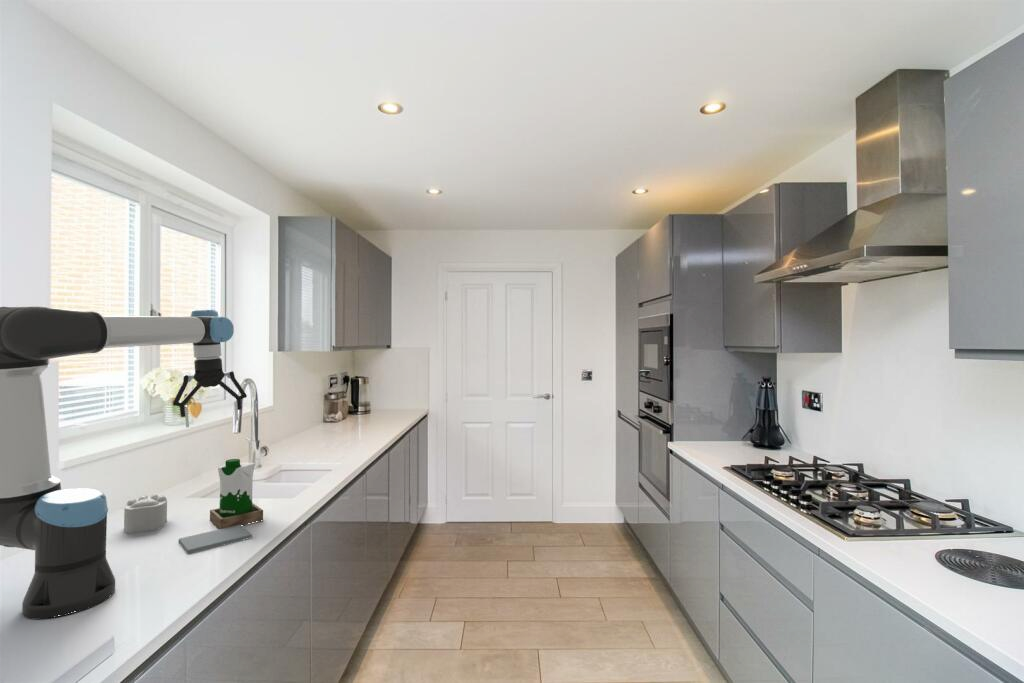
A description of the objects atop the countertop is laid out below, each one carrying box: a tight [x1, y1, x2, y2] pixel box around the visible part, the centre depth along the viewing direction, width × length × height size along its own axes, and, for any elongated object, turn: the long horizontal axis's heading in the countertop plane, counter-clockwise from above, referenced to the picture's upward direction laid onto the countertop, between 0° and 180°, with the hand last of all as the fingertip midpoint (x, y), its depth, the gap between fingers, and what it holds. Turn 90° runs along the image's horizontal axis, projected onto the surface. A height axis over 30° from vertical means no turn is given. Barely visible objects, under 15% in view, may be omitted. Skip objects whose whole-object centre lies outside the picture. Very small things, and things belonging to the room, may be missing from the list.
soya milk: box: [217, 458, 256, 518], centre depth 156 cm, size 9×9×20 cm
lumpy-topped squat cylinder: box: [123, 493, 168, 534], centre depth 153 cm, size 10×13×9 cm
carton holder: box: [209, 502, 264, 530], centre depth 156 cm, size 12×12×4 cm
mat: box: [178, 525, 253, 555], centre depth 141 cm, size 16×11×1 cm
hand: (212, 423), depth 157 cm, fingers open, 13 cm apart
